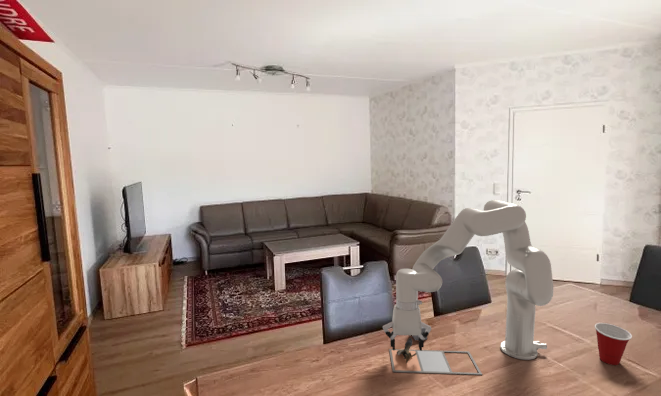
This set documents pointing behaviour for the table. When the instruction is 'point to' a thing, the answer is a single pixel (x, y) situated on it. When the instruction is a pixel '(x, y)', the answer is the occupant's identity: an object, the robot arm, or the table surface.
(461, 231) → the robot arm
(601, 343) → the plastic cup
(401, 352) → the eagle figurine
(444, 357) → the board
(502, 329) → the table surface
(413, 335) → the die
